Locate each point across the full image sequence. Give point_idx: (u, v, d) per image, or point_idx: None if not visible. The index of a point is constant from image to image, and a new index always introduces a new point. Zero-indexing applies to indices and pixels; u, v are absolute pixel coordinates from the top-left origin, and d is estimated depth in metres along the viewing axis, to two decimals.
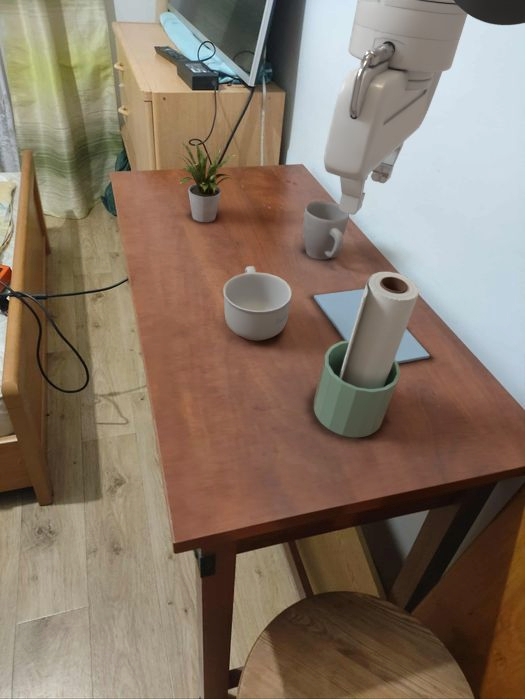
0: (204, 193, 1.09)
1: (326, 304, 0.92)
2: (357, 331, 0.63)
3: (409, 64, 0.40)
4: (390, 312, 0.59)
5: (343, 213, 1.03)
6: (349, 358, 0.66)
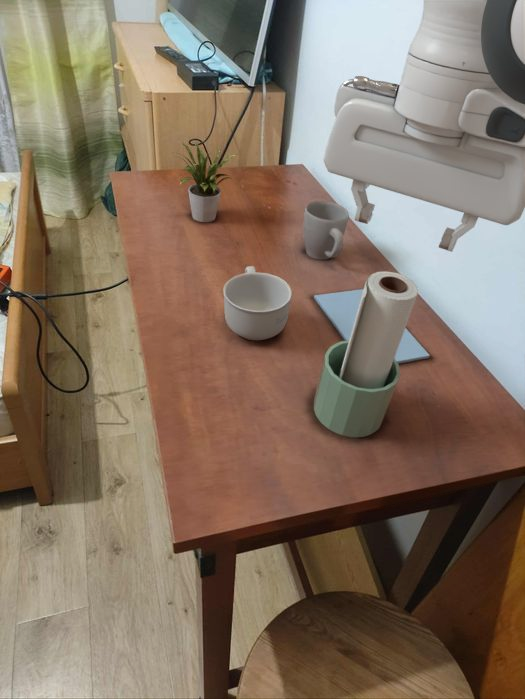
0: (204, 193, 1.09)
1: (326, 304, 0.92)
2: (356, 331, 0.63)
3: (395, 104, 0.47)
4: (389, 312, 0.59)
5: (343, 213, 1.03)
6: (349, 358, 0.66)
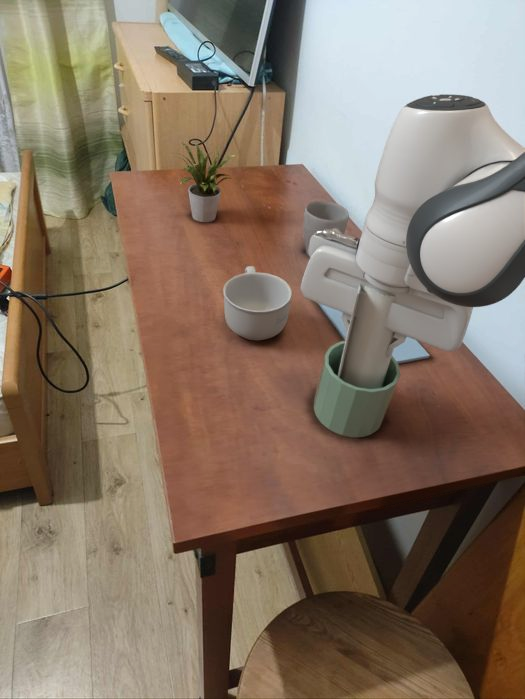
0: (204, 193, 1.09)
1: None
2: (352, 329, 0.64)
3: (356, 257, 0.57)
4: (384, 308, 0.59)
5: (343, 213, 1.03)
6: (346, 357, 0.67)
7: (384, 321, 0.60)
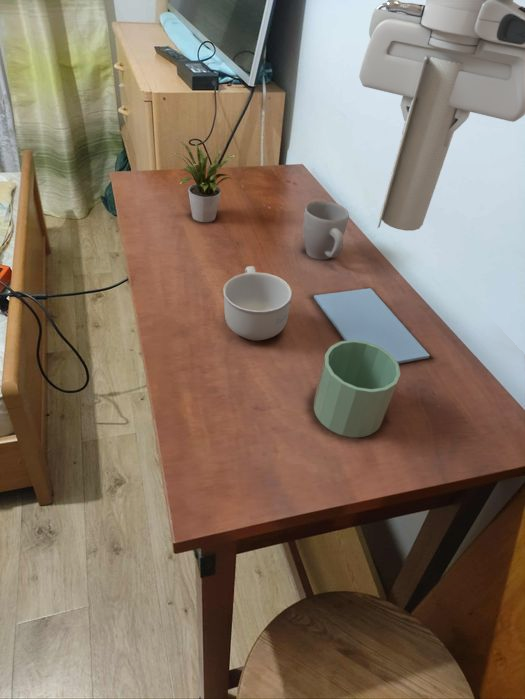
0: (204, 193, 1.09)
1: (326, 304, 0.92)
2: (412, 116, 0.64)
3: (422, 20, 0.57)
4: (449, 80, 0.59)
5: (343, 213, 1.03)
6: (401, 153, 0.66)
7: (448, 97, 0.60)
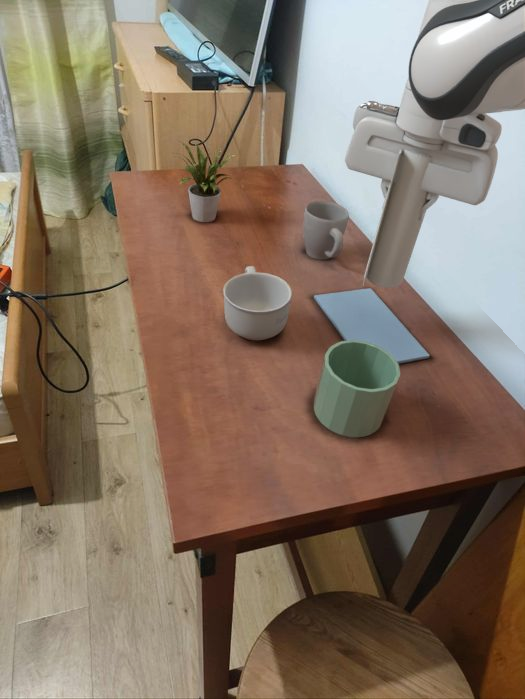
0: (204, 193, 1.09)
1: (326, 304, 0.92)
2: (390, 195, 0.74)
3: (396, 121, 0.67)
4: (420, 169, 0.69)
5: (343, 213, 1.03)
6: (382, 224, 0.76)
7: (420, 182, 0.70)
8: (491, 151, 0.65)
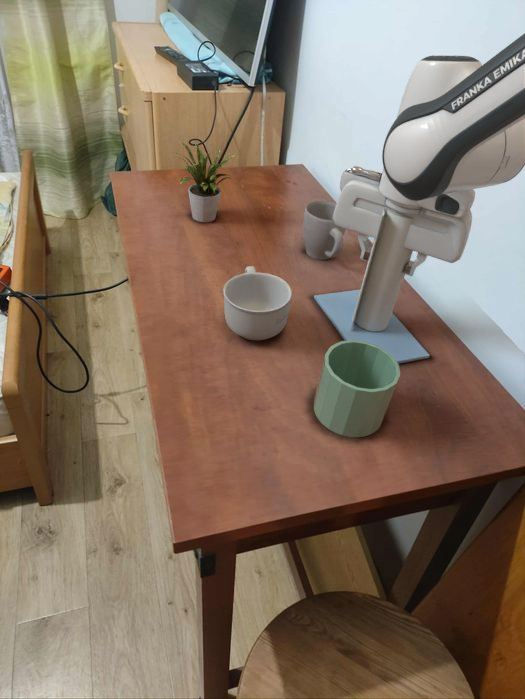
0: (204, 193, 1.09)
1: (326, 304, 0.92)
2: (375, 249, 0.79)
3: (379, 186, 0.73)
4: (402, 229, 0.75)
5: None
6: (368, 274, 0.82)
7: (402, 240, 0.76)
8: (465, 217, 0.70)
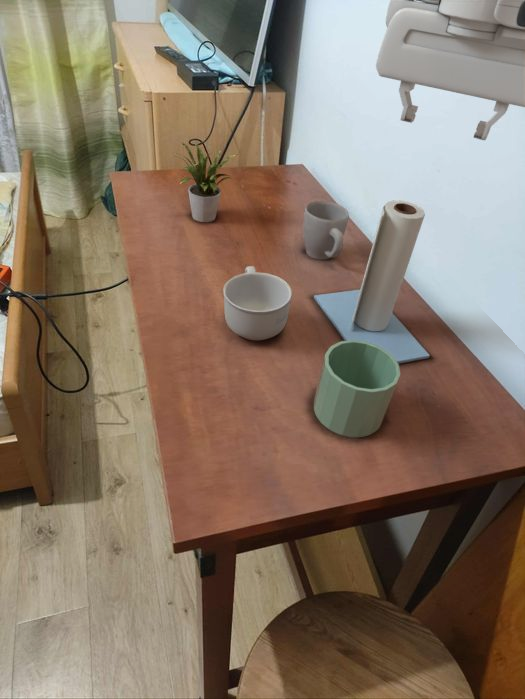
0: (204, 193, 1.09)
1: (326, 304, 0.92)
2: (375, 249, 0.79)
3: (440, 7, 0.57)
4: (402, 229, 0.75)
5: (343, 213, 1.03)
6: (368, 274, 0.82)
7: (402, 240, 0.76)
8: None
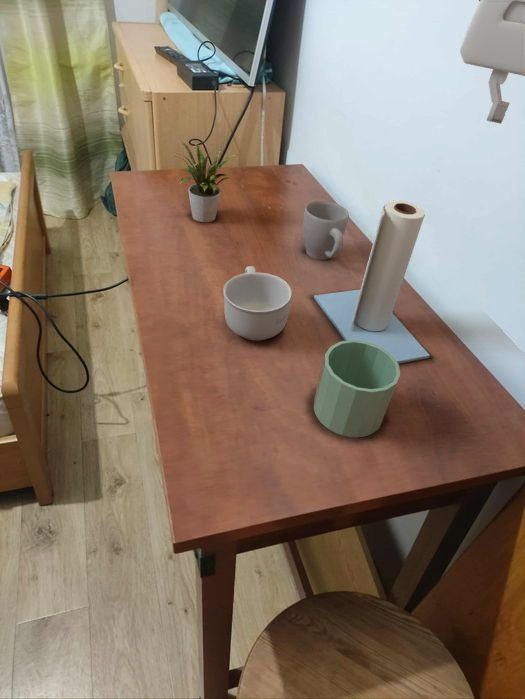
0: (204, 193, 1.09)
1: (326, 304, 0.92)
2: (375, 249, 0.79)
3: None
4: (402, 229, 0.75)
5: (343, 213, 1.03)
6: (368, 274, 0.82)
7: (402, 240, 0.76)
8: None
